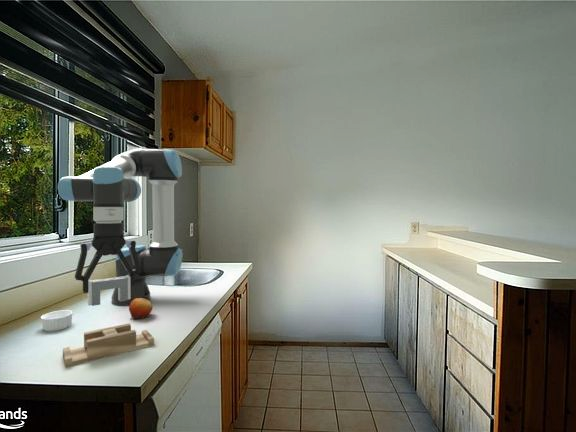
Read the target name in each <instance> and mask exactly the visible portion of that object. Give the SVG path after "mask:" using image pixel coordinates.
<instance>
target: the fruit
mask: <svg viewBox="0 0 576 432" xmlns="http://www.w3.org/2000/svg"><path fill="white" fill-rule="evenodd" d="M153 308H154V306H153V305H152V302H151V301H149V300H146V299H144V298H136V299H134V300H133V301H132V302H131V304H130V305H129V308H128V310H129V314H130V317H131V318H130V319H129V320H130V321H132V319H147V318H148V317H149V316H150V315H151V313H152V311H153Z"/></svg>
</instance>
